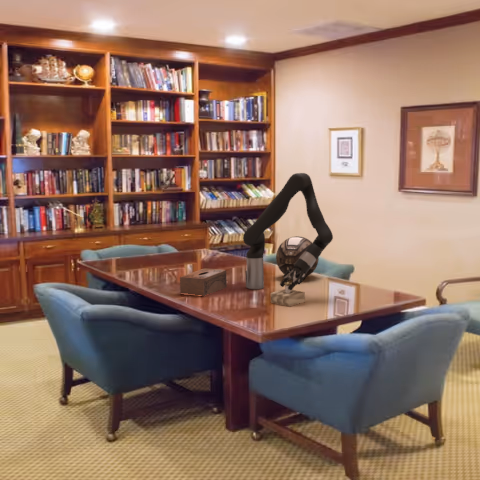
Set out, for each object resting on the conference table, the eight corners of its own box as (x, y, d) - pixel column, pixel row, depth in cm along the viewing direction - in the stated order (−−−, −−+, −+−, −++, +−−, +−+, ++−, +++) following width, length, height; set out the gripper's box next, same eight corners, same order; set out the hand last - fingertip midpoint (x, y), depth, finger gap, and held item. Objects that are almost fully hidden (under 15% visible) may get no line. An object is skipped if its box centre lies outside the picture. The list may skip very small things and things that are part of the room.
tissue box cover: (203, 297, 317) (203, 278, 315) (180, 295, 323) (179, 277, 322) (226, 287, 340) (226, 270, 338) (204, 285, 346) (203, 268, 345)
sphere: (324, 275, 365) (323, 234, 361) (311, 283, 342) (310, 240, 339) (285, 273, 375) (284, 233, 372) (270, 281, 353) (269, 238, 349)
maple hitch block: (270, 302, 301) (270, 292, 300) (286, 298, 309) (286, 288, 309) (289, 306, 292) (289, 296, 292) (304, 301, 301) (304, 292, 300)
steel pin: (283, 302, 301) (283, 282, 300) (287, 301, 303) (287, 281, 302) (288, 303, 299) (288, 283, 297) (292, 302, 301) (292, 282, 300)
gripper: (293, 255, 307) (273, 280, 304) (307, 260, 294) (287, 285, 291) (302, 265, 310) (283, 289, 307) (317, 269, 297) (297, 295, 294)
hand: (285, 287), depth 299 cm, fingers open, 8 cm apart
